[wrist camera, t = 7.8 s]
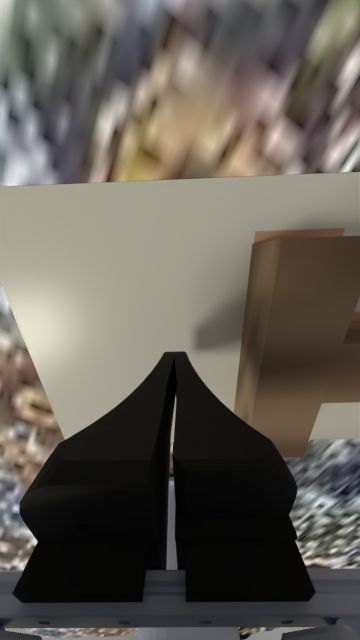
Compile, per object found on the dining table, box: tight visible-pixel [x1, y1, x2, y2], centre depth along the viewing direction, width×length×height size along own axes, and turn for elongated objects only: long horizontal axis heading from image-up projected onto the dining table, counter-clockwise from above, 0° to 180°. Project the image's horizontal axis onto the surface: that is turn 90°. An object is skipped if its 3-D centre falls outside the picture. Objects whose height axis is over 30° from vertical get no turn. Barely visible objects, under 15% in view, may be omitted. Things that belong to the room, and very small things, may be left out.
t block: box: [234, 236, 360, 457], centre depth 11 cm, size 14×14×3 cm
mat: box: [0, 172, 360, 443], centre depth 12 cm, size 20×34×1 cm, turn 92°
